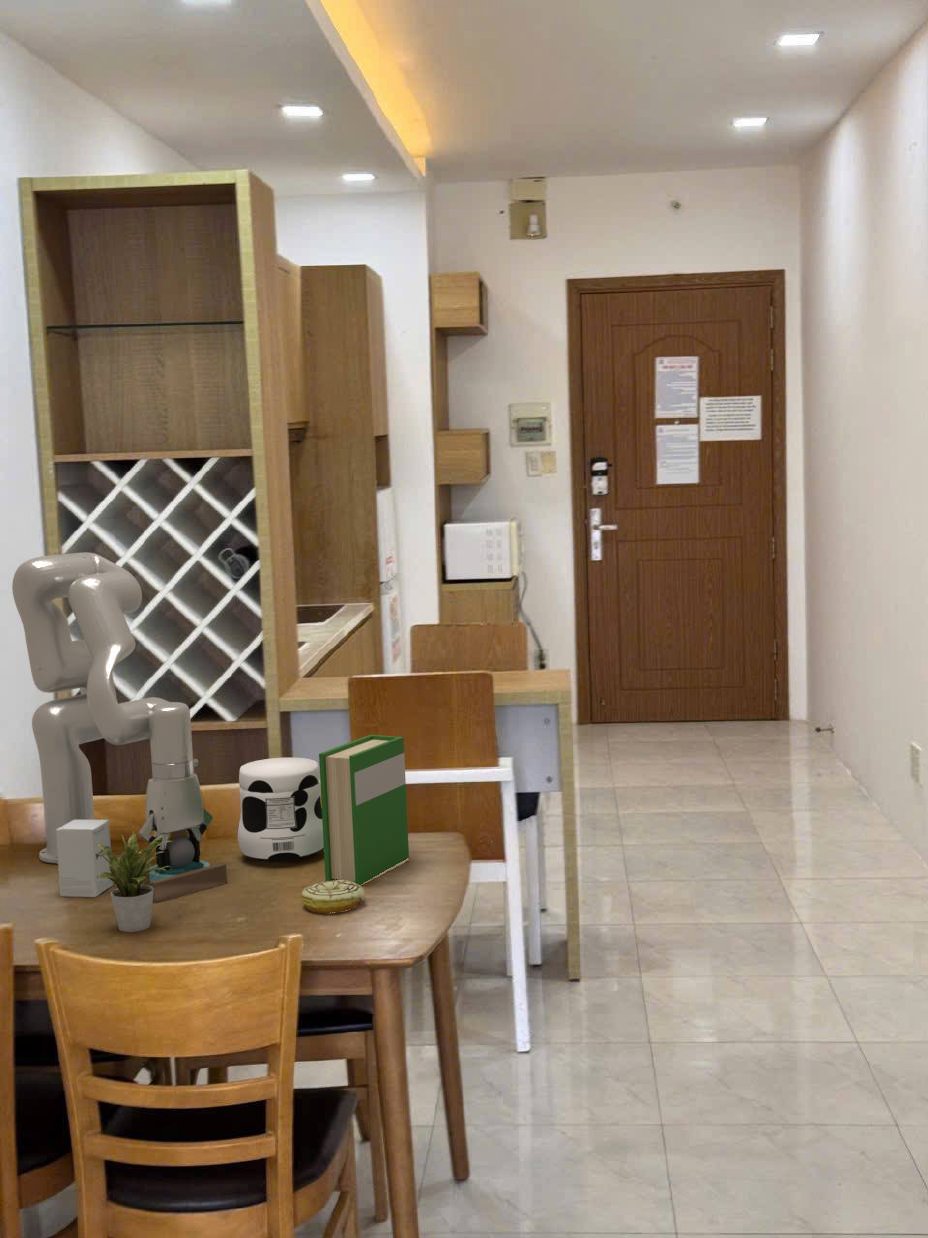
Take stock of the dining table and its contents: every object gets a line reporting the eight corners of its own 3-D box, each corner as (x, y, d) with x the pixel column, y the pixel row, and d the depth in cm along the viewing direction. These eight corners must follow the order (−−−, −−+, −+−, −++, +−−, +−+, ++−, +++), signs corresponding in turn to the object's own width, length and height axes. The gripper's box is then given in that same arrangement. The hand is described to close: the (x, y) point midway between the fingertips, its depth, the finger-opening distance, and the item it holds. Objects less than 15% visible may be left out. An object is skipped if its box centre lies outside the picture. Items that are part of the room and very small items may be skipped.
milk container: (290, 839, 295) (285, 752, 293) (346, 853, 283) (341, 763, 281) (220, 858, 283) (215, 768, 281) (276, 874, 271) (271, 780, 269)
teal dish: (138, 881, 270) (137, 869, 270) (189, 867, 278) (188, 855, 277) (170, 892, 262) (169, 880, 262) (221, 878, 270) (220, 866, 270)
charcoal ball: (156, 868, 270) (154, 837, 269) (184, 861, 274) (182, 830, 273) (174, 875, 266) (172, 843, 265) (201, 867, 270) (199, 836, 269)
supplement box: (97, 898, 261) (92, 829, 259) (59, 897, 262) (54, 828, 261) (114, 885, 268) (110, 818, 267) (77, 884, 270) (73, 818, 268)
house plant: (195, 930, 241) (189, 834, 239) (115, 948, 234) (108, 849, 232) (164, 909, 253) (158, 817, 251) (86, 925, 245) (79, 831, 244)
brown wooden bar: (151, 901, 258) (150, 882, 257) (222, 881, 268) (221, 863, 267) (156, 903, 257) (155, 883, 256) (227, 883, 267) (226, 864, 266)
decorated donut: (377, 904, 252) (376, 883, 251) (330, 920, 244) (329, 899, 243) (336, 893, 259) (335, 872, 258) (290, 908, 251) (289, 887, 251)
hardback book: (360, 887, 261) (353, 756, 258) (325, 882, 265) (318, 753, 262) (409, 860, 277) (403, 737, 274) (376, 856, 280) (370, 734, 277)
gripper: (201, 759, 276) (206, 851, 278) (121, 775, 264) (127, 871, 267) (223, 764, 271) (229, 858, 273) (142, 781, 259) (149, 879, 261)
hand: (178, 864), depth 270 cm, fingers closed on charcoal ball, 5 cm apart
